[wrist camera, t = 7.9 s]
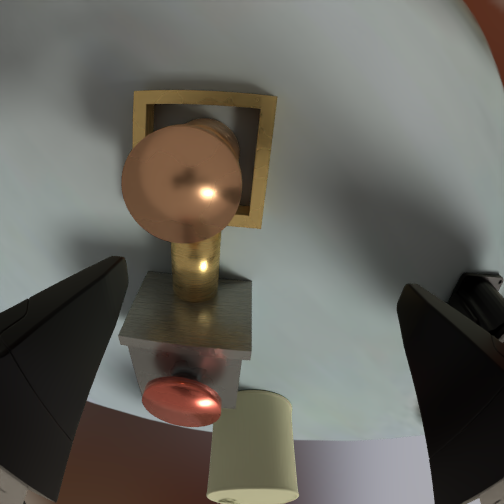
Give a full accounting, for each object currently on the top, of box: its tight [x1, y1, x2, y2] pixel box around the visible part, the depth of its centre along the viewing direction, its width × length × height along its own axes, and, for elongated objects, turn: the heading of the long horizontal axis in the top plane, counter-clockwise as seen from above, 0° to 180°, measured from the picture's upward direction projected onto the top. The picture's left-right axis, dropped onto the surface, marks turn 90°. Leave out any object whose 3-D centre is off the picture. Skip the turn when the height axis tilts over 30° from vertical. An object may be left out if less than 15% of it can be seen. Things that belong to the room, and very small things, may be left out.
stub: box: [121, 118, 242, 244], centre depth 15 cm, size 5×5×7 cm
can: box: [206, 390, 299, 504], centre depth 27 cm, size 9×9×12 cm
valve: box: [118, 231, 252, 427], centre depth 19 cm, size 8×12×9 cm
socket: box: [133, 90, 277, 229], centre depth 18 cm, size 8×8×2 cm
